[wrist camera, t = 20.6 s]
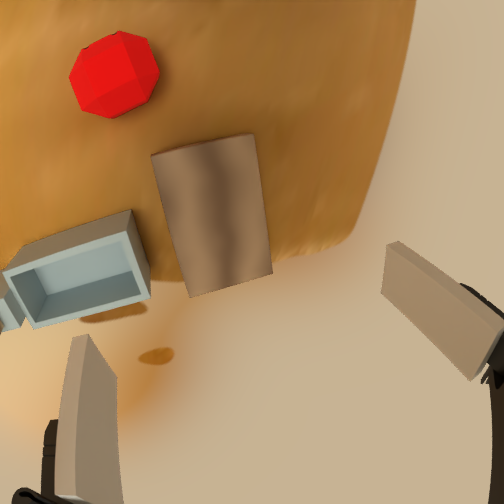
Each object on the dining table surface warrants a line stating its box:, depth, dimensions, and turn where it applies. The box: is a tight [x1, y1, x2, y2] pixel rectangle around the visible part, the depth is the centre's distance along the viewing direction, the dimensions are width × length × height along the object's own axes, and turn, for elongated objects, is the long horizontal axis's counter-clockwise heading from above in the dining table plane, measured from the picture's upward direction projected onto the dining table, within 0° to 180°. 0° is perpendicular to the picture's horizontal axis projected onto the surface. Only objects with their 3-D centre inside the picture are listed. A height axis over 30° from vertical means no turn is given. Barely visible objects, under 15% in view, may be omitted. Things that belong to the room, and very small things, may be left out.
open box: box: [2, 209, 151, 329], centre depth 30 cm, size 8×16×7 cm, turn 99°
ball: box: [69, 31, 160, 118], centre depth 22 cm, size 8×8×8 cm
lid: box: [151, 133, 273, 298], centre depth 31 cm, size 10×16×2 cm, turn 9°
